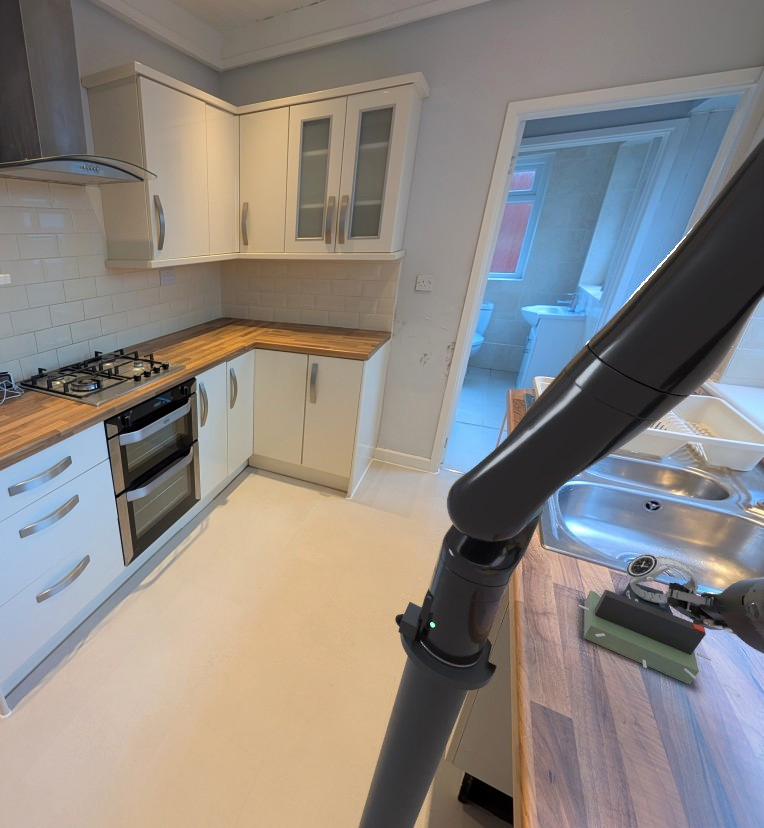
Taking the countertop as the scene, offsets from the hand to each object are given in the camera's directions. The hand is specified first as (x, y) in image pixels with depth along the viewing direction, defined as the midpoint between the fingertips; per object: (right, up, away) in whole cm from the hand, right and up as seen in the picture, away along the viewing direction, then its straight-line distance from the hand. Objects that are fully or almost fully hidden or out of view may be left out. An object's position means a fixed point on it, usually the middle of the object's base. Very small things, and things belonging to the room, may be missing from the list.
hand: (701, 617), depth 53 cm
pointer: (+6, -8, +13) cm, 17 cm away
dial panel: (+6, -11, +15) cm, 20 cm away
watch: (+13, -9, +20) cm, 26 cm away
